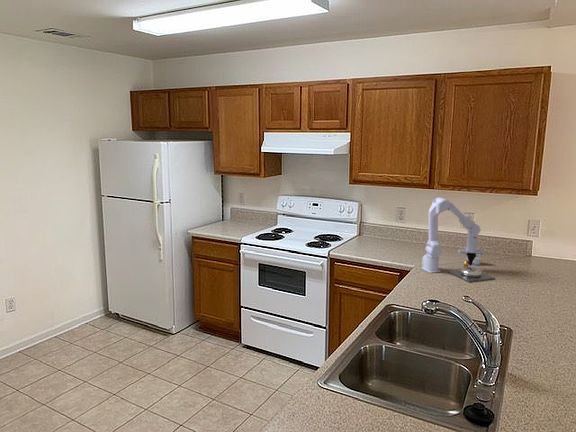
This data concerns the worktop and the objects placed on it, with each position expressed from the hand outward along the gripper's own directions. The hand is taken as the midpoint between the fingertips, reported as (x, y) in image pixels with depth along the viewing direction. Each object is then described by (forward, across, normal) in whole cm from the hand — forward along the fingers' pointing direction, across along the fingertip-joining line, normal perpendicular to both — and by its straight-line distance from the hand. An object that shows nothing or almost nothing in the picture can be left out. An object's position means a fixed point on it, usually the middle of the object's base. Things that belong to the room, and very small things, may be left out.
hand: (470, 265), depth 265 cm
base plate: (+3, +2, +11) cm, 11 cm away
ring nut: (+2, +2, +7) cm, 8 cm away
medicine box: (+4, -5, -14) cm, 16 cm away
